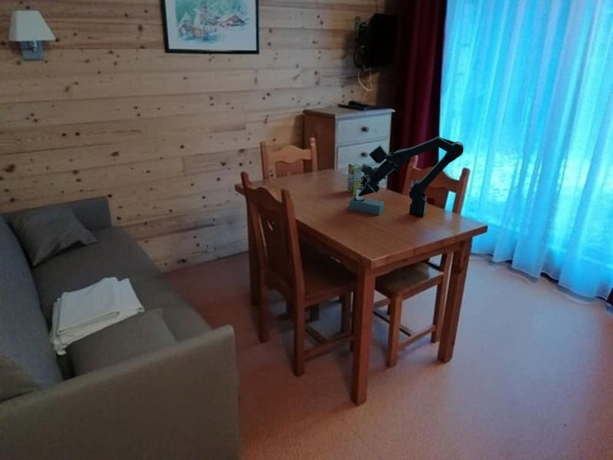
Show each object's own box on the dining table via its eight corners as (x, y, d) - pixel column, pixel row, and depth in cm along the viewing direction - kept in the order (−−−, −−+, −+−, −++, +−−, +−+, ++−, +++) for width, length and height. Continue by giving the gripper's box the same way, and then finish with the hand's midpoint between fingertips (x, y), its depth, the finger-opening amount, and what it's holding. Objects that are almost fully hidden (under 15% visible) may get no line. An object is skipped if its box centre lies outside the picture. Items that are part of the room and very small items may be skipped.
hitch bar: (383, 210, 217) (384, 201, 216) (379, 215, 212) (380, 206, 210) (354, 205, 223) (354, 196, 222) (348, 209, 217) (349, 200, 216)
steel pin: (362, 208, 220) (364, 184, 215) (360, 210, 217) (362, 186, 213) (356, 207, 221) (358, 183, 216) (354, 209, 218) (356, 185, 214)
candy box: (346, 190, 246) (348, 163, 240) (353, 190, 247) (355, 162, 241) (352, 195, 238) (354, 167, 232) (360, 195, 239) (362, 166, 234)
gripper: (369, 154, 218) (345, 175, 222) (374, 163, 201) (347, 186, 205) (384, 170, 221) (359, 191, 225) (390, 181, 204) (364, 203, 208)
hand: (357, 192), depth 216 cm, fingers open, 9 cm apart
